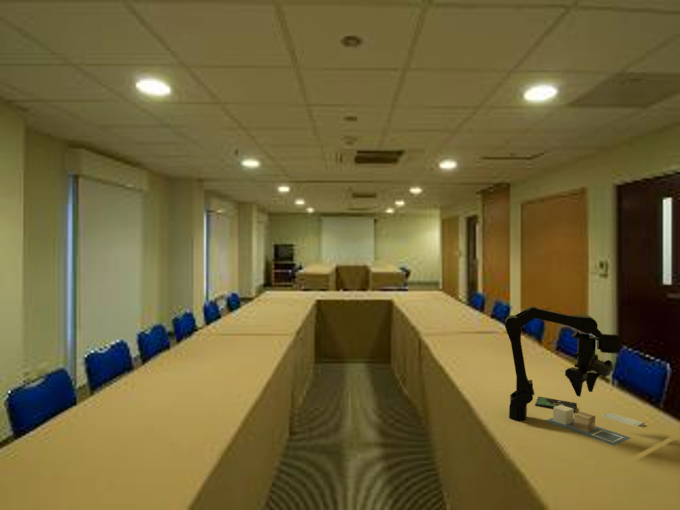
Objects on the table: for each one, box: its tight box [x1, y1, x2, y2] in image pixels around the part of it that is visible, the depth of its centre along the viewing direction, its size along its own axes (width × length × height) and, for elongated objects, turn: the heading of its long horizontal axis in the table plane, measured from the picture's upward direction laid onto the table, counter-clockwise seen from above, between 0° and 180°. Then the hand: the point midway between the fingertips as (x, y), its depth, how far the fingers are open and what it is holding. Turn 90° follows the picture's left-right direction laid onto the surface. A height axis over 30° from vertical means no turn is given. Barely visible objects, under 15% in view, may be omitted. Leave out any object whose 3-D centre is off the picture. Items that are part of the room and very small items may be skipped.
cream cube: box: [552, 405, 575, 425], centre depth 178 cm, size 5×5×5 cm
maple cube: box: [573, 410, 596, 432], centre depth 171 cm, size 5×5×5 cm
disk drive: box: [534, 396, 578, 414], centre depth 195 cm, size 10×3×15 cm
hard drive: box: [601, 412, 645, 427], centre depth 182 cm, size 2×8×12 cm
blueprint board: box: [544, 417, 632, 447], centre depth 171 cm, size 12×25×1 cm, turn 35°
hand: (584, 394), depth 172 cm, fingers open, 9 cm apart
